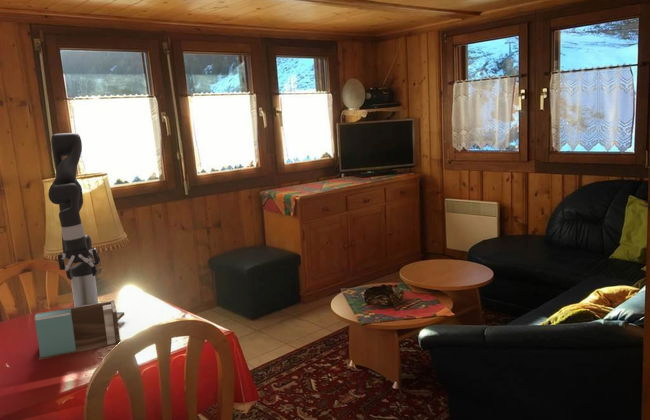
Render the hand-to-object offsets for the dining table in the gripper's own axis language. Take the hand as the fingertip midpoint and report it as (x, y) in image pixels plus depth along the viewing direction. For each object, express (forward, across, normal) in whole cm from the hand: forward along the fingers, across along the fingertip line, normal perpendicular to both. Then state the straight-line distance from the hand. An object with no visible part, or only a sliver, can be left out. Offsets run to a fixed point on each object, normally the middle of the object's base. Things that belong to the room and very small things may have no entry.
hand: (82, 277), depth 211 cm
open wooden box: (+20, 0, +19) cm, 28 cm away
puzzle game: (+21, 0, -1) cm, 21 cm away
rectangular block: (+18, +6, +24) cm, 31 cm away
